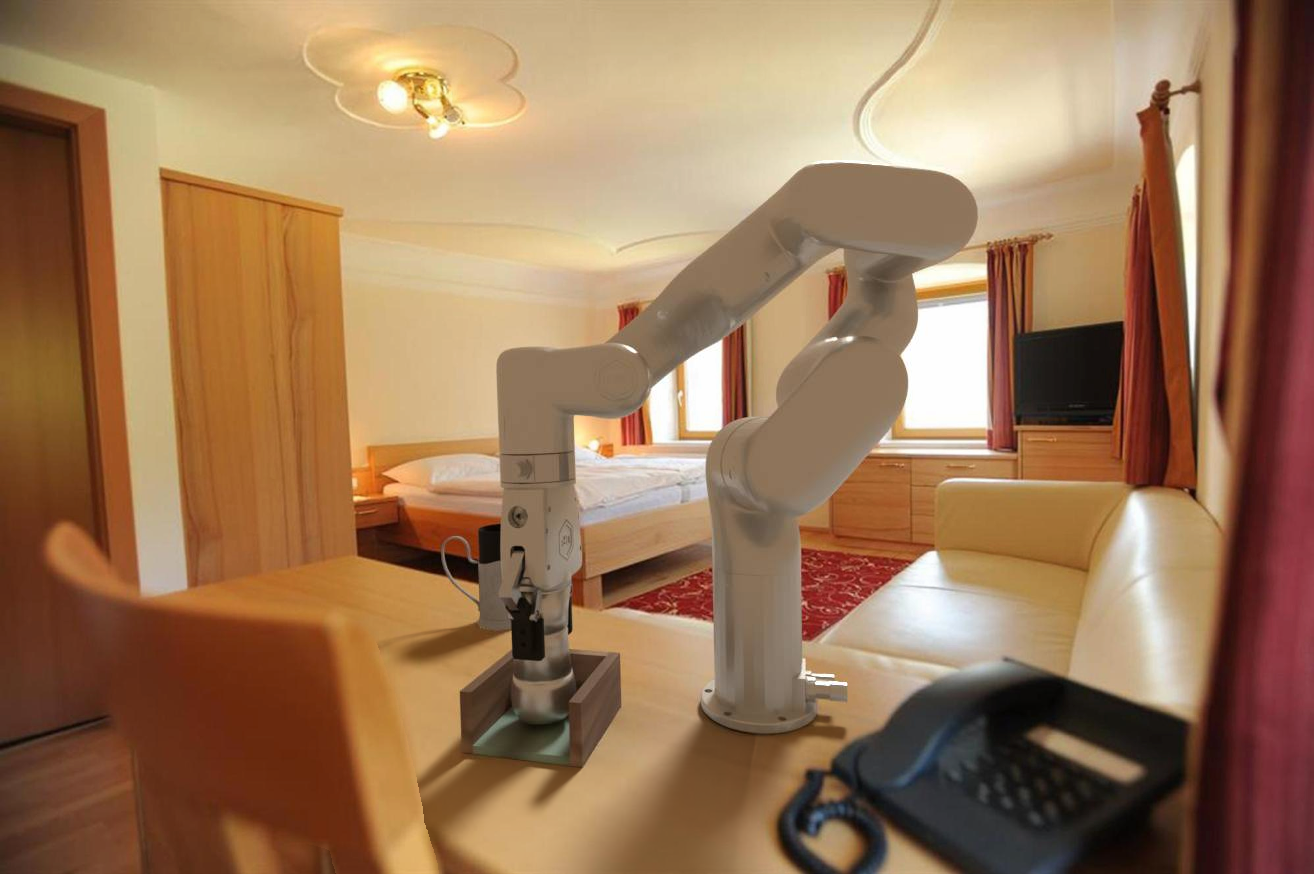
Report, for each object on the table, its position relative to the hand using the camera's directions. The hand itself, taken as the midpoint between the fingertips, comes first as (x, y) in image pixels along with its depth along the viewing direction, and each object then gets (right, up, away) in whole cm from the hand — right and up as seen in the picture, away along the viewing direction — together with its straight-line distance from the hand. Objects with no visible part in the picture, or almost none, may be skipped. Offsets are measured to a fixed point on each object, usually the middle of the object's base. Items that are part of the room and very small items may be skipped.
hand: (544, 643), depth 62 cm
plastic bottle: (0, -8, 0) cm, 8 cm away
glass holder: (-15, -8, +34) cm, 39 cm away
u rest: (0, -9, +1) cm, 9 cm away
